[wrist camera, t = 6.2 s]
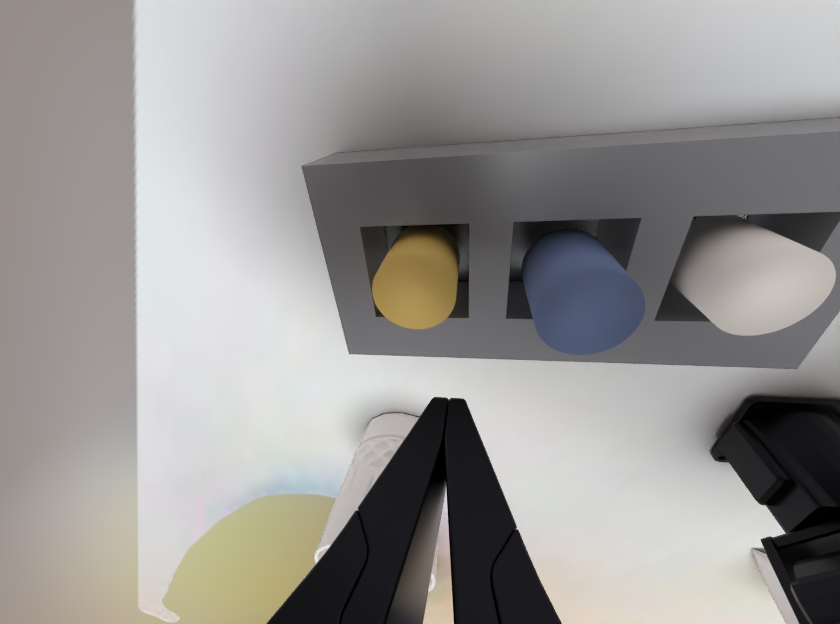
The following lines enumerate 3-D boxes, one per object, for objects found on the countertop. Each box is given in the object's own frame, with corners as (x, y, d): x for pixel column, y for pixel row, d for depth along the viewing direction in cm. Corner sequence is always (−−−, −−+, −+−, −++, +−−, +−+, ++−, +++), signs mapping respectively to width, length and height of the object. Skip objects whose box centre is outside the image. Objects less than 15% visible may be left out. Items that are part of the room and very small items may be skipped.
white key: (768, 211, 14) (861, 247, 10) (730, 286, 16) (799, 336, 12) (673, 215, 14) (733, 249, 11) (648, 286, 16) (694, 334, 13)
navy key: (614, 227, 14) (660, 269, 10) (595, 301, 15) (629, 356, 12) (525, 230, 14) (540, 270, 11) (517, 300, 16) (529, 353, 13)
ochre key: (459, 221, 16) (455, 254, 12) (460, 286, 18) (456, 330, 14) (387, 224, 16) (365, 255, 13) (395, 287, 18) (378, 328, 15)
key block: (851, 116, 13) (978, 122, 10) (738, 320, 18) (796, 368, 15) (336, 152, 17) (301, 166, 13) (367, 315, 22) (349, 354, 19)
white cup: (465, 440, 28) (462, 584, 20) (410, 473, 32) (387, 604, 23) (393, 392, 26) (355, 531, 18) (343, 433, 30) (293, 562, 21)
